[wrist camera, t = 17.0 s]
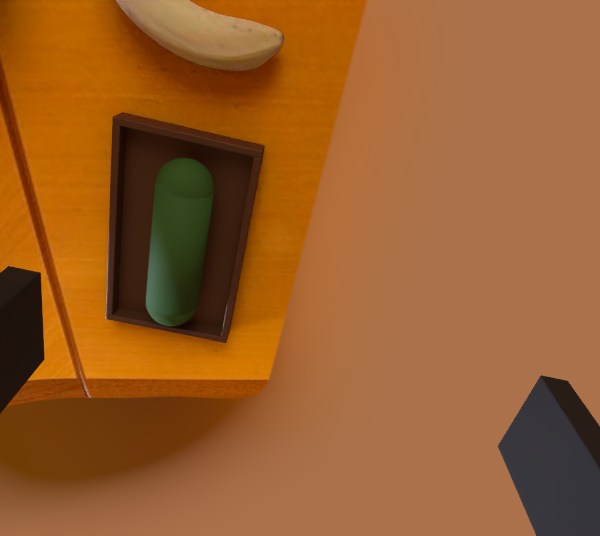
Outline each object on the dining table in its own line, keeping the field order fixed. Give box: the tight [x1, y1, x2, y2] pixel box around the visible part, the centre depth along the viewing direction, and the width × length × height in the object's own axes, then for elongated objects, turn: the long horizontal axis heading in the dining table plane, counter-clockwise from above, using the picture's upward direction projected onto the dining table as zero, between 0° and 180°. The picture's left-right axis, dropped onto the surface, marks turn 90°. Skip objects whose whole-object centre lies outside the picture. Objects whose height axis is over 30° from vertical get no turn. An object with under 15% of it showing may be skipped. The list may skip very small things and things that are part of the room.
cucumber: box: [146, 158, 214, 326], centre depth 40 cm, size 16×5×5 cm, turn 167°
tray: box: [106, 112, 265, 343], centre depth 41 cm, size 19×12×2 cm, turn 167°
